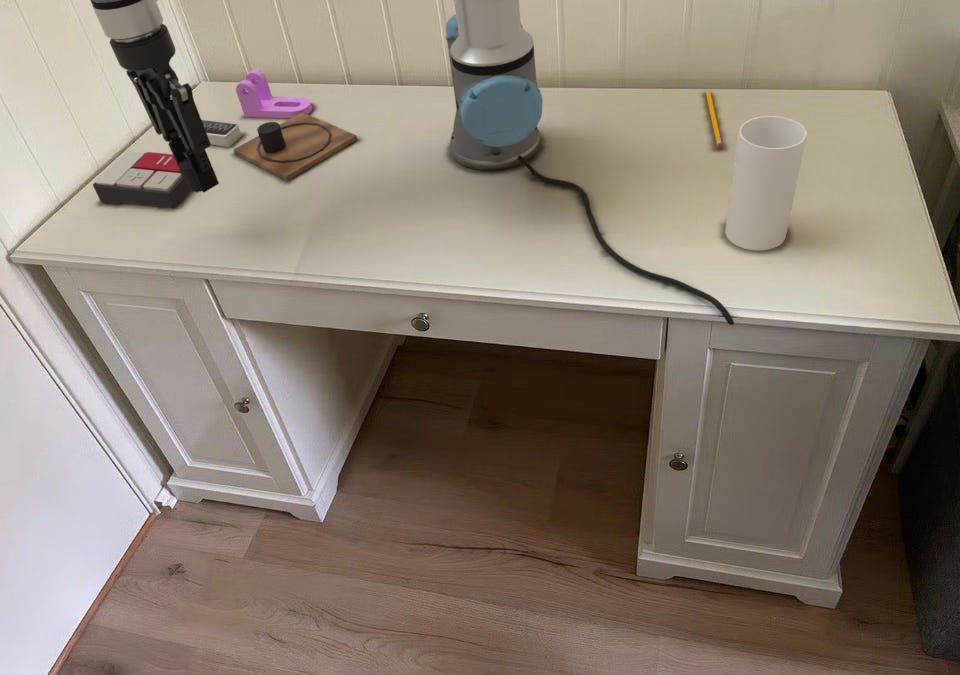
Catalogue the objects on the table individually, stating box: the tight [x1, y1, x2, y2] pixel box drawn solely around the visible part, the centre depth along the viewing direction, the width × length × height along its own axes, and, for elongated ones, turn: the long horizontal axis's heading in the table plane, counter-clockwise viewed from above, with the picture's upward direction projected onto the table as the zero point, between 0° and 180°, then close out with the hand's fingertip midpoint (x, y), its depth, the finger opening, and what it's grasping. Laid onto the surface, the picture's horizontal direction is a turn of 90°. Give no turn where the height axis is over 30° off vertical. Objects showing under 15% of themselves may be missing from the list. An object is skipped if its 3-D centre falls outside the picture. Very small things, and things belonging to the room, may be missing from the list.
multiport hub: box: [201, 119, 243, 148], centre depth 147 cm, size 4×11×2 cm, turn 68°
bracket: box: [235, 69, 313, 119], centre depth 151 cm, size 13×6×7 cm, turn 76°
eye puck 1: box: [179, 157, 202, 193], centre depth 118 cm, size 4×4×4 cm
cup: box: [724, 115, 808, 252], centre depth 106 cm, size 8×8×16 cm
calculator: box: [92, 150, 191, 209], centre depth 136 cm, size 11×4×15 cm
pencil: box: [705, 90, 723, 150], centre depth 134 cm, size 1×18×1 cm, turn 174°
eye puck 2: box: [256, 121, 286, 153], centre depth 140 cm, size 4×4×4 cm
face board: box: [233, 112, 358, 182], centre depth 142 cm, size 16×16×1 cm
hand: (201, 182), depth 119 cm, fingers closed on eye puck 1, 4 cm apart
